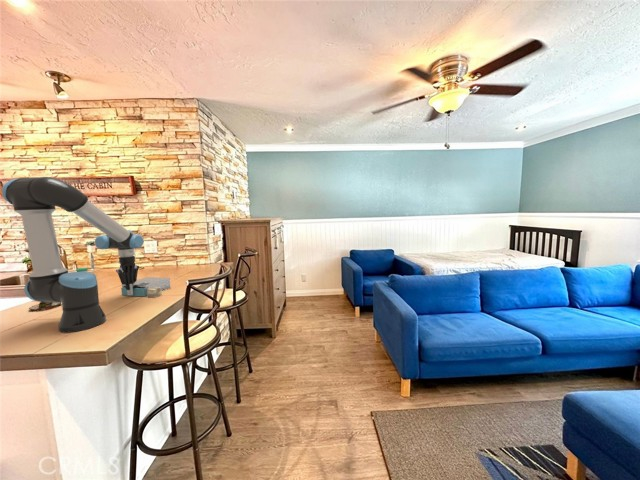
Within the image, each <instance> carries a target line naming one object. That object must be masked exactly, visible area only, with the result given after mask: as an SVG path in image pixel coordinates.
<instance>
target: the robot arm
mask: <svg viewBox="0 0 640 480" xmlns="http://www.w3.org/2000/svg"><path fill="white" fill-rule="evenodd" d="M1 194H2V197H3V199H4V201H6V202H8V203H9V204H10V205H12V207H13V211H14V212H15V213H17V214H18V215H20V217H21V221H22V225H23V230H24V234H25V238H26V244H27V248H28V253H29V257H30V261H31V266H32V267H31V268H32V272H31V273H30V274H28V277H29V279H28V280H27V283H25V285H24V290H23V291H24V294H25V296H26V297H27V298H28V299H29V300H31V301H35V302H39V303H40V302H45V303H46V302H61V304H62V305H61V308H62V313H61V317H60V319H59V322H58V325H57V326H58V331H59V332H60V333H74V332H80V331H86V330H89V329H91V328H95V327H97V326H99V325H101V324H103V323H105V322H106V321H107V319H106V318H107V317H106V314H105V312H104V311H103V309H102V307H101V305H100V299H99V298H100V297H99V286H98V280H97V276H96V274H95V273H93V272H89V271H87V272H77V271H73V272H72V271H71V272H69V269H68V268H66V267H63V264H62V259H61V254H60V251H59V250H60V249H59V245H58V239H57V235H56V230H55V225H54V219H53V215H52V214H53V213H54V212H55V211H56V210H57V209H56V207H57V208H61V209H62V210H64V211H66V212H68V213H73V214H75V215H76V216H78V217H79V218H81V219H82V220H84V221H85V222H87V223H89V224H90V225H91V226H93V227H94V228H96V229H97V230H98V231H100V232H102V233H103V235H98V236H96V237H95V238H94V245H95V247H96V248H97V249H99V250H108V249H117V254H118V261H119V268H118V269H116V270H115V272H116V273H117V274H118V275H117V276H118V277H119V280H120V284H121V285H122V284H124V285H126V290H127V295H126V296H128V295H133V288H134V287H133V284H134V283H135V282H136V281H137V280H138V274H139V273H138V271H139V269H140V266H139V265H136V263H135V262H136V257H135V249H140V248H141V247H143V245H144V238H143V236H142V235H140V234H137V233H135V234H134V233H133V231H132V230H131V229H130V230H129V229H127V228H125V227H124V226H122V225H121V224H120V223H118V222H117V221H116V220H115V219H114V218H112V217H111V216H109V215H108V214H107V213H106V212H104V211H103V210H102V209H100V208H99V207H98V206H97V205H95V204H94V203H92V202H91V201H90V200H89V197H88V196H87V195H86V194H85V193H83V192H82V191H81V190H79V189H78V188H76V187H74V186H73V185H72V184H69V183H67V182H66V181H63V180H62V179H59V178H56V177H52V176H51V177H50V176H39V177H20V178H13V179H10V180H8V181H7V182H5V183H4V185H3V186H2V189H1Z"/></svg>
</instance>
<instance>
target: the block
mask: <svg viewBox="0 0 640 480" xmlns="http://www.w3.org/2000/svg"><path fill="white" fill-rule="evenodd" d="M147 291H148V296H147V297H148V299H149V298H150V299H155V298H158V297H161V296H163V291H162V289H161V287H153V288H150V289H147Z"/></svg>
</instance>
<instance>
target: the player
mask: <svg viewBox="0 0 640 480" xmlns="http://www.w3.org/2000/svg"><path fill="white" fill-rule="evenodd" d="M122 287H126V285H124V284H122V283H121V288H122ZM133 287H134V288H135V287H145V289H146V296H145V297H148V291H147V289H150V288H153V287H161V289H162V292H163V290H164V291H167V290H169V289H171V278H170V277H151V276H147V277H143V278H140V279H137V281H136V282H135V283H134V284H133ZM168 288H169V289H168ZM166 289H167V290H166Z"/></svg>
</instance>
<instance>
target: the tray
mask: <svg viewBox="0 0 640 480" xmlns="http://www.w3.org/2000/svg"><path fill="white" fill-rule="evenodd" d="M120 289H121V296H130V297H147V296H146V289H145V288H136V287H135V288H133V295H127V290H126V287H122V286H121V288H120Z"/></svg>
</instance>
